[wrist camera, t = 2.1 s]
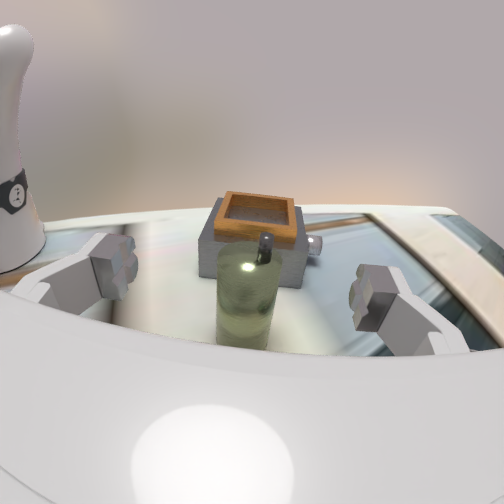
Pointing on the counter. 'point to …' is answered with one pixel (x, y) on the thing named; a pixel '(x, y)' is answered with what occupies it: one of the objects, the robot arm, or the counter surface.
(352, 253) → the counter surface
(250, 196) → the grey drawer box
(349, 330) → the counter surface
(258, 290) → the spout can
